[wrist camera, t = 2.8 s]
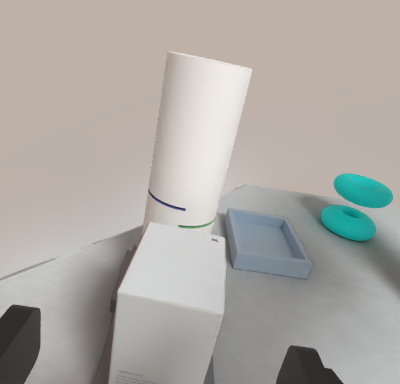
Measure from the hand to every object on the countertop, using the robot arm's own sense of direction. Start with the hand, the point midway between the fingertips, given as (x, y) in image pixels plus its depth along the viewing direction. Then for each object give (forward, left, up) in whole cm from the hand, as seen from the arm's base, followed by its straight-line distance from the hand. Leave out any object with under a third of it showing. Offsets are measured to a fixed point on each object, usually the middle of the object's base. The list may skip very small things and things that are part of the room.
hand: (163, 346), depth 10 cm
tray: (-15, -33, -17) cm, 40 cm away
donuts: (-34, -44, -17) cm, 58 cm away
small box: (-1, -10, -17) cm, 20 cm away
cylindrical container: (-1, -21, -17) cm, 27 cm away
